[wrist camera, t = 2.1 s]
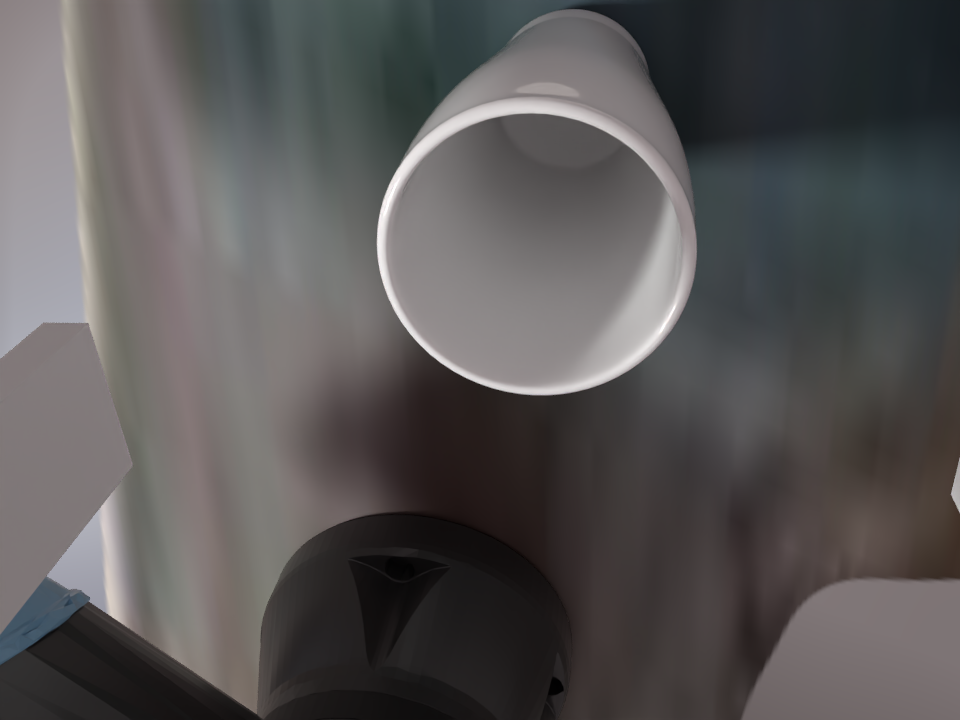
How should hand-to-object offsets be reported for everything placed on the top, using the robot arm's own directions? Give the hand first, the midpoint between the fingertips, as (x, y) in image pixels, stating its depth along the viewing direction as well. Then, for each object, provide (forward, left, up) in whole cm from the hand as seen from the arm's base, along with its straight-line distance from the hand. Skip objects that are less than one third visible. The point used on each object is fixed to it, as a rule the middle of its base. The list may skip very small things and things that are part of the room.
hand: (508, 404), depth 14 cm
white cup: (0, 0, -21) cm, 21 cm away
